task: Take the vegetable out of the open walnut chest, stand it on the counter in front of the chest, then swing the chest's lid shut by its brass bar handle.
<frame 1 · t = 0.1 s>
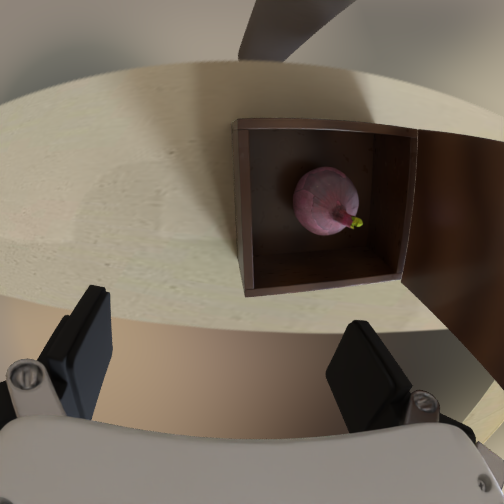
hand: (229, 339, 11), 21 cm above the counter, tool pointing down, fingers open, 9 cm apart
lid: (492, 241, 17), point 16 cm above the counter, hinge at 90.0°
vegetable: (311, 192, 30), point 1 cm above the counter, touching chest
chest: (309, 190, 31), on the counter
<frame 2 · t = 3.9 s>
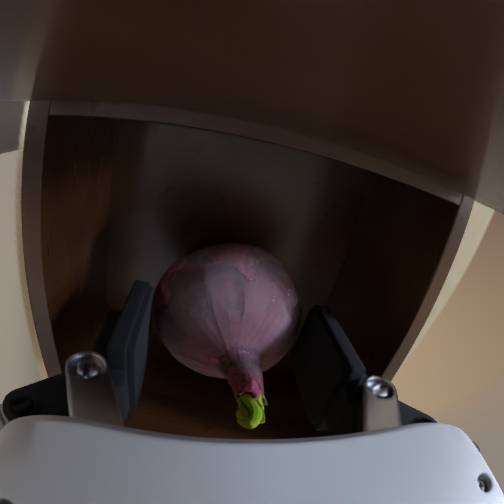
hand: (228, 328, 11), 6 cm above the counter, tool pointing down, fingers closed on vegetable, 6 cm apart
vegetable: (224, 270, 16), point 1 cm above the counter, touching chest, gripper
chest: (223, 265, 17), on the counter
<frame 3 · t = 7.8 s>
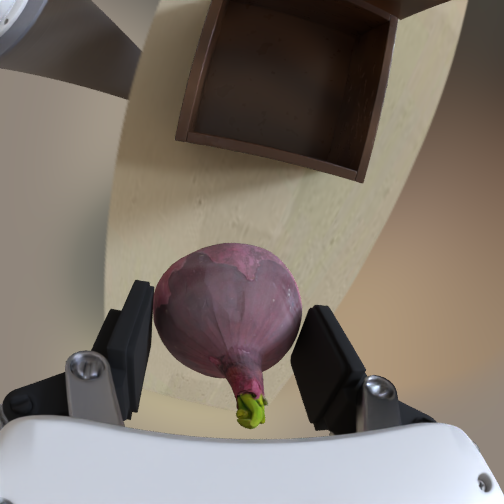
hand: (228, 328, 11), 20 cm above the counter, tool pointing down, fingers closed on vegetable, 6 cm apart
vegetable: (224, 269, 16), point 14 cm above the counter, touching gripper
chest: (278, 77, 25), on the counter
when the fingers open (5 cm above the counter, at t = 11.5 s): vegetable stays where it is, on the counter.
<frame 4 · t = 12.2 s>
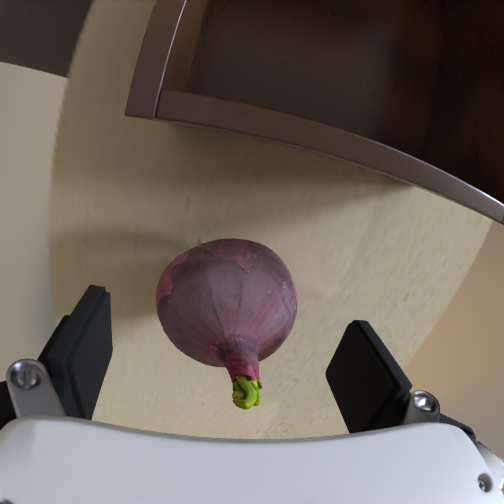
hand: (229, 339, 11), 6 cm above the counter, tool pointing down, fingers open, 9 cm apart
vegetable: (224, 265, 17), on the counter
chest: (339, 24, 12), on the counter
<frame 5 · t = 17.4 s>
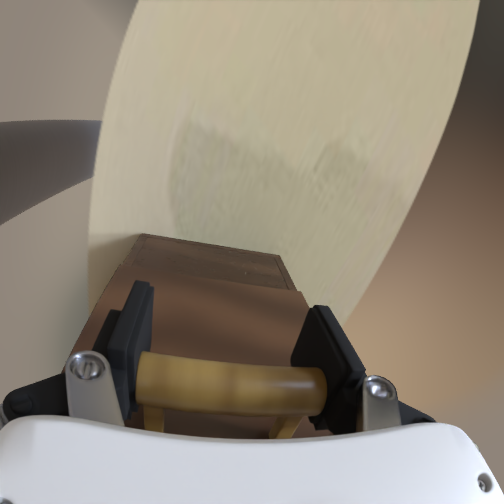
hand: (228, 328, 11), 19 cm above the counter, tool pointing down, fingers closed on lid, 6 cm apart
lid: (218, 325, 15), point 16 cm above the counter, hinge at 90.0°, touching gripper
chest: (200, 307, 33), on the counter
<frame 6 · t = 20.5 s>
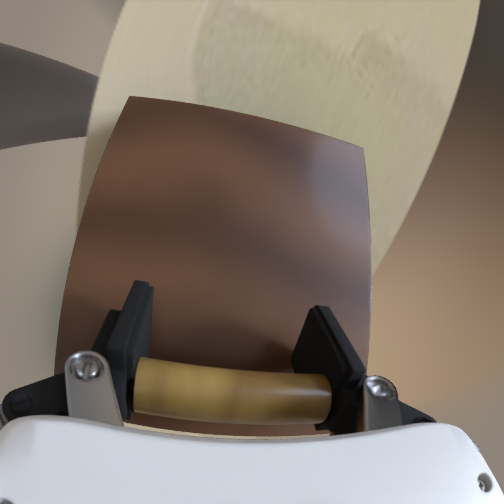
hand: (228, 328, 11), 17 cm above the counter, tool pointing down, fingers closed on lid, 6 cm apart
lid: (241, 240, 12), point 15 cm above the counter, hinge at 39.0°, touching gripper
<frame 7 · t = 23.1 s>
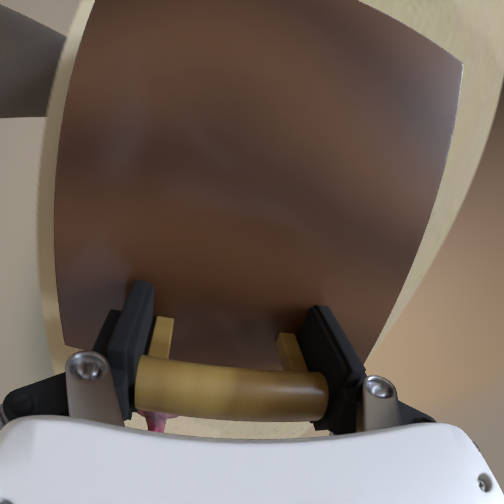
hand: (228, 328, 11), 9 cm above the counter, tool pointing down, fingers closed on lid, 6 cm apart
lid: (268, 206, 8), point 10 cm above the counter, hinge at -0.2°, touching chest, gripper
vegetable: (163, 344, 22), on the counter
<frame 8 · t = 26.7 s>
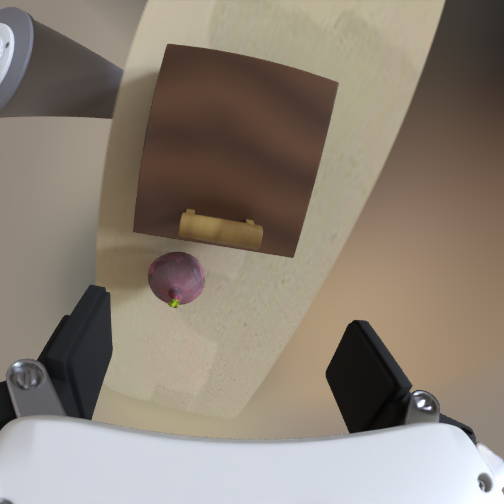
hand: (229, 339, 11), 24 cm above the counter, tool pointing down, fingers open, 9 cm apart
lid: (234, 153, 22), point 10 cm above the counter, hinge at -0.2°, touching chest
vegetable: (180, 262, 36), on the counter
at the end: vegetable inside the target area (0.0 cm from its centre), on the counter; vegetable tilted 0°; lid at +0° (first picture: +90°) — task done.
